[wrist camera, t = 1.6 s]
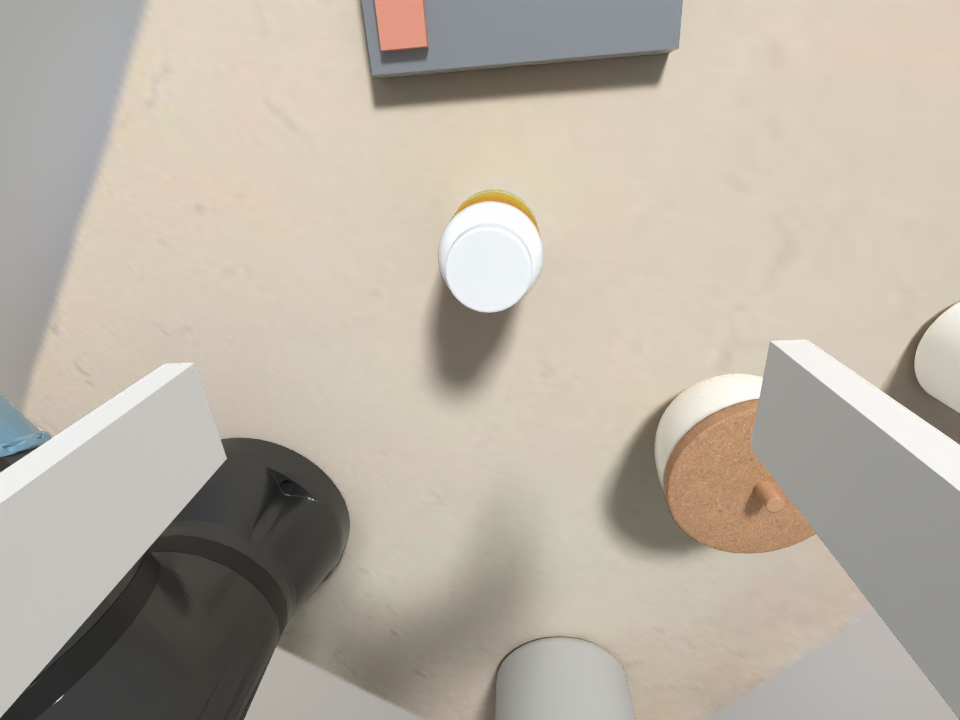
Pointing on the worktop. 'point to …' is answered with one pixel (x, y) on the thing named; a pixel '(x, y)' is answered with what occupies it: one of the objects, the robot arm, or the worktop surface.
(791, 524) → the lidded jar
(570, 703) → the cylinder vase
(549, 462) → the worktop surface
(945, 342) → the beverage can
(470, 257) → the supplement bottle
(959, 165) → the worktop surface
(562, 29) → the socket plate
